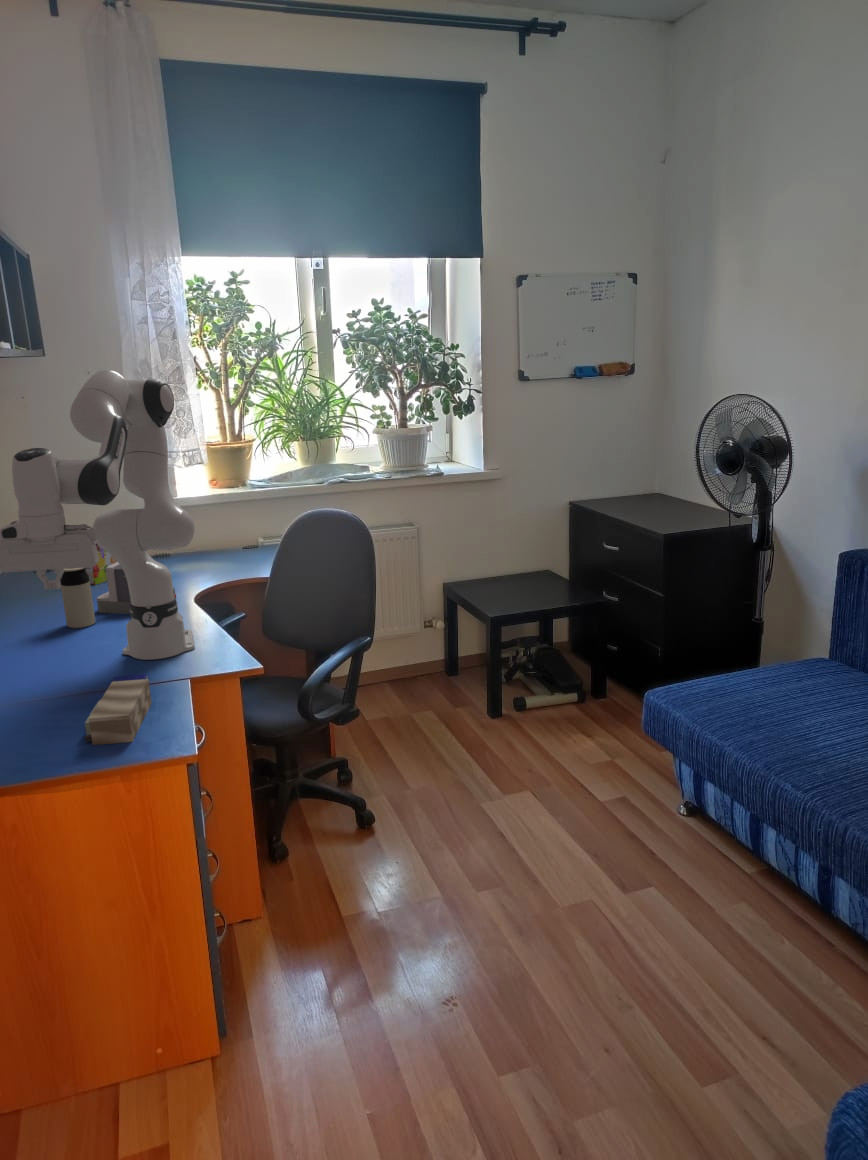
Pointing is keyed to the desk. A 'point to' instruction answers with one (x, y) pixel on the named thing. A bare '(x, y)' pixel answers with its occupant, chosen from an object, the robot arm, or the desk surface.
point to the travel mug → (77, 598)
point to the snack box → (100, 567)
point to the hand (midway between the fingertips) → (53, 588)
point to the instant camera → (116, 592)
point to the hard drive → (129, 677)
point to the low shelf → (120, 712)
